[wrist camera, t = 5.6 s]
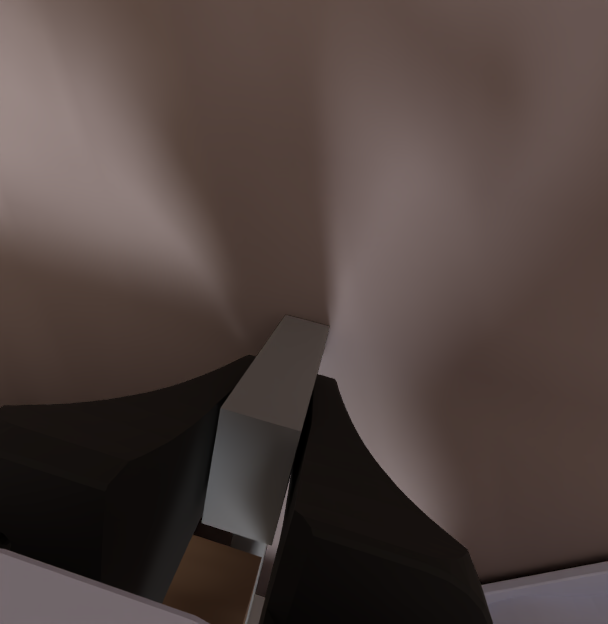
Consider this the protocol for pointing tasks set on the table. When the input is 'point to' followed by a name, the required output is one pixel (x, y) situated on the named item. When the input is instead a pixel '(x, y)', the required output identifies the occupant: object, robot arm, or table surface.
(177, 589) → the tan cardboard box
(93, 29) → the table surface
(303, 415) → the grey t-shaped piece
